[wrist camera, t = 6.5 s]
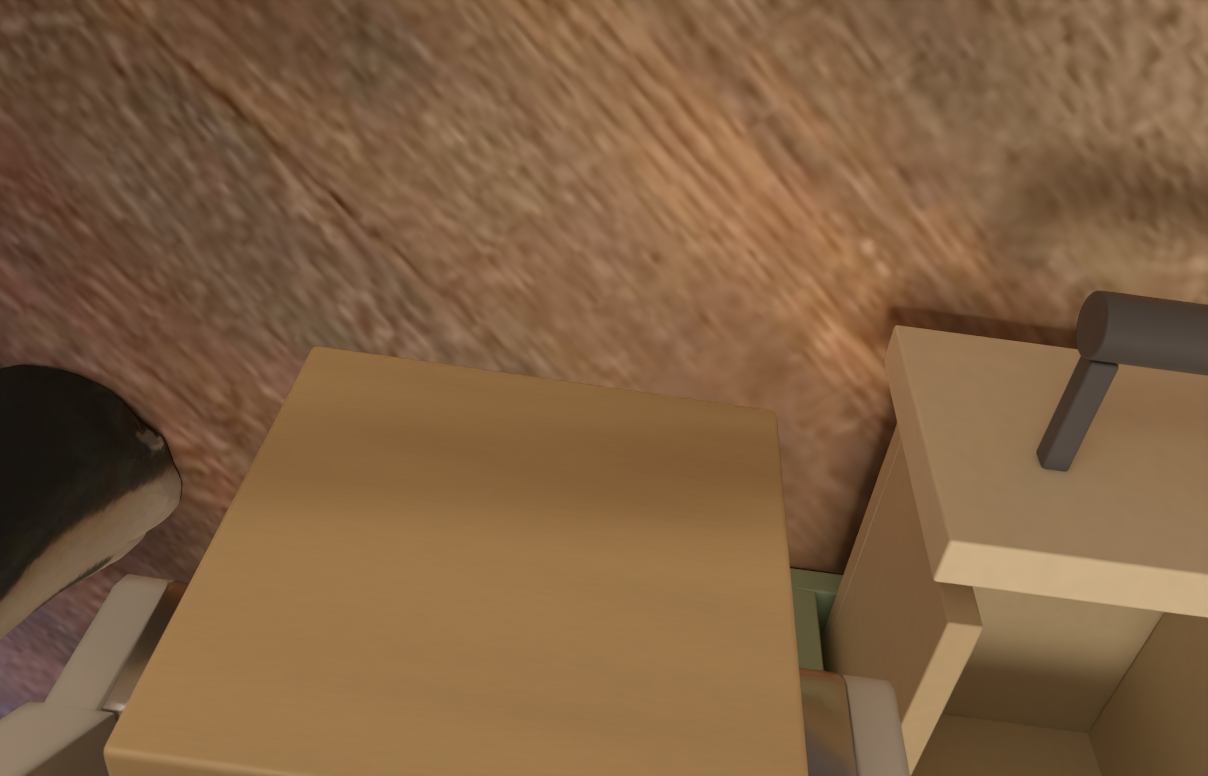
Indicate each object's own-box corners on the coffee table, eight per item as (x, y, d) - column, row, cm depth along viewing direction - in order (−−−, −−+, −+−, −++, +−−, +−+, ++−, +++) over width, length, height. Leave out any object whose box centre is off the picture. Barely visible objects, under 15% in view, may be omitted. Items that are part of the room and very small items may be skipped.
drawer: (944, 171, 25) (1024, 367, 19) (1435, 237, 25) (1681, 455, 19) (777, 678, 36) (792, 907, 30) (1115, 723, 36) (1201, 961, 30)
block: (311, 342, 11) (97, 751, 7) (778, 409, 11) (818, 849, 7) (328, 647, 14) (183, 1054, 10) (697, 698, 14) (694, 1123, 10)
